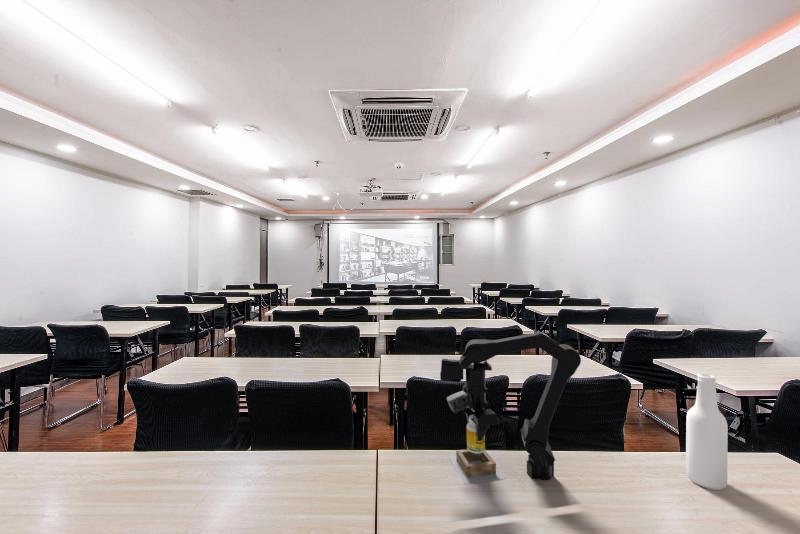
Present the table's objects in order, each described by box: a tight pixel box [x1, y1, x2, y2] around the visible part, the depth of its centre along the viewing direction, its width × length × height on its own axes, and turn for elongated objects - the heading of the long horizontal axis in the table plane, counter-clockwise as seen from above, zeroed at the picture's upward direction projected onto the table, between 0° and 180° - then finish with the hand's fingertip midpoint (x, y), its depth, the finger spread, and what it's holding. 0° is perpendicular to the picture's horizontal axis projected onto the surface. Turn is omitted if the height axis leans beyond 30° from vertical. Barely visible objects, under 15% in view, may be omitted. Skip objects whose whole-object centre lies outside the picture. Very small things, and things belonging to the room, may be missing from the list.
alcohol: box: [685, 373, 729, 491], centre depth 99 cm, size 9×9×30 cm
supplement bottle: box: [466, 415, 486, 454], centre depth 105 cm, size 5×5×10 cm
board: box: [448, 454, 506, 485], centre depth 105 cm, size 12×14×1 cm
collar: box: [455, 448, 497, 477], centre depth 105 cm, size 9×9×3 cm
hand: (475, 435), depth 105 cm, fingers closed on supplement bottle, 5 cm apart
